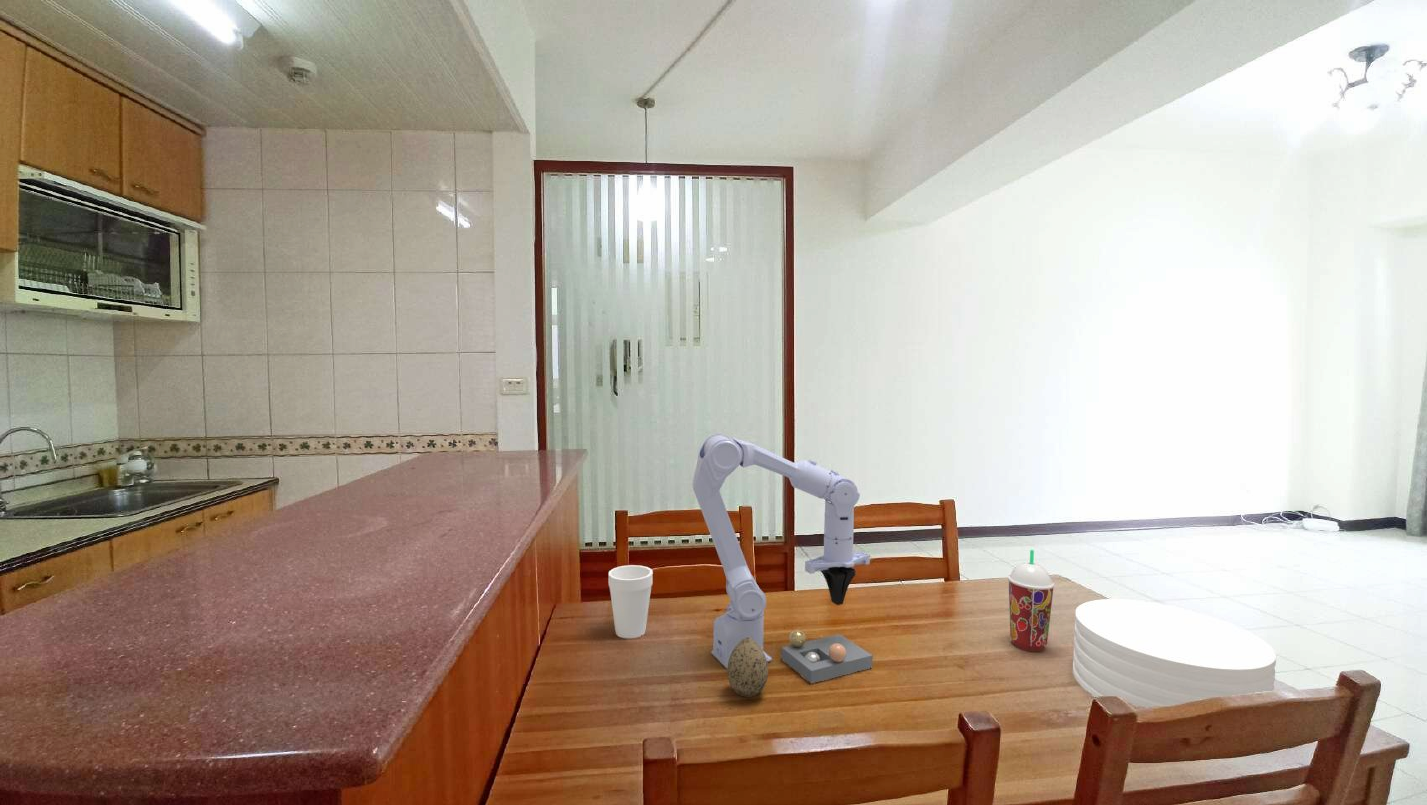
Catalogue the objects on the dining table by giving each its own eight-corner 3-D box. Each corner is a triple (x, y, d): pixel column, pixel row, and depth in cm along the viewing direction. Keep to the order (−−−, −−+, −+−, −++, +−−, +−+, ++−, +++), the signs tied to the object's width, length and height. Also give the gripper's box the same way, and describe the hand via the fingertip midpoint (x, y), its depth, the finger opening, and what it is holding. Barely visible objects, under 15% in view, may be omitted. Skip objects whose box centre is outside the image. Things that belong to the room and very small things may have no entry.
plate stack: (1176, 654, 120) (1179, 598, 120) (1322, 740, 92) (1327, 668, 92) (1041, 655, 119) (1043, 599, 119) (1147, 742, 92) (1151, 669, 91)
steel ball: (814, 674, 110) (821, 671, 113) (818, 657, 110) (825, 654, 113) (799, 667, 112) (806, 664, 115) (803, 650, 112) (809, 647, 115)
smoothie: (1057, 657, 118) (1061, 558, 117) (1012, 652, 120) (1016, 555, 119) (1043, 638, 126) (1047, 545, 125) (1001, 634, 128) (1004, 543, 127)
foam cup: (656, 623, 132) (656, 566, 131) (647, 642, 123) (648, 581, 122) (614, 621, 133) (614, 564, 132) (602, 640, 124) (602, 579, 123)
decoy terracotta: (835, 666, 108) (835, 649, 108) (825, 659, 111) (825, 642, 111) (849, 663, 110) (850, 646, 110) (838, 655, 113) (839, 639, 113)
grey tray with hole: (811, 684, 107) (811, 670, 107) (781, 659, 116) (781, 647, 116) (872, 668, 113) (872, 655, 113) (839, 645, 122) (839, 634, 122)
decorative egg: (718, 695, 103) (718, 639, 103) (743, 679, 109) (744, 625, 108) (751, 710, 99) (752, 652, 98) (776, 693, 104) (776, 637, 103)
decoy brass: (795, 651, 114) (795, 635, 114) (786, 644, 117) (786, 628, 117) (808, 648, 116) (809, 632, 115) (799, 641, 118) (800, 625, 118)
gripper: (820, 546, 112) (819, 616, 113) (880, 537, 118) (879, 604, 119) (799, 536, 118) (798, 603, 119) (857, 528, 124) (856, 592, 125)
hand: (837, 603), depth 119 cm, fingers closed
